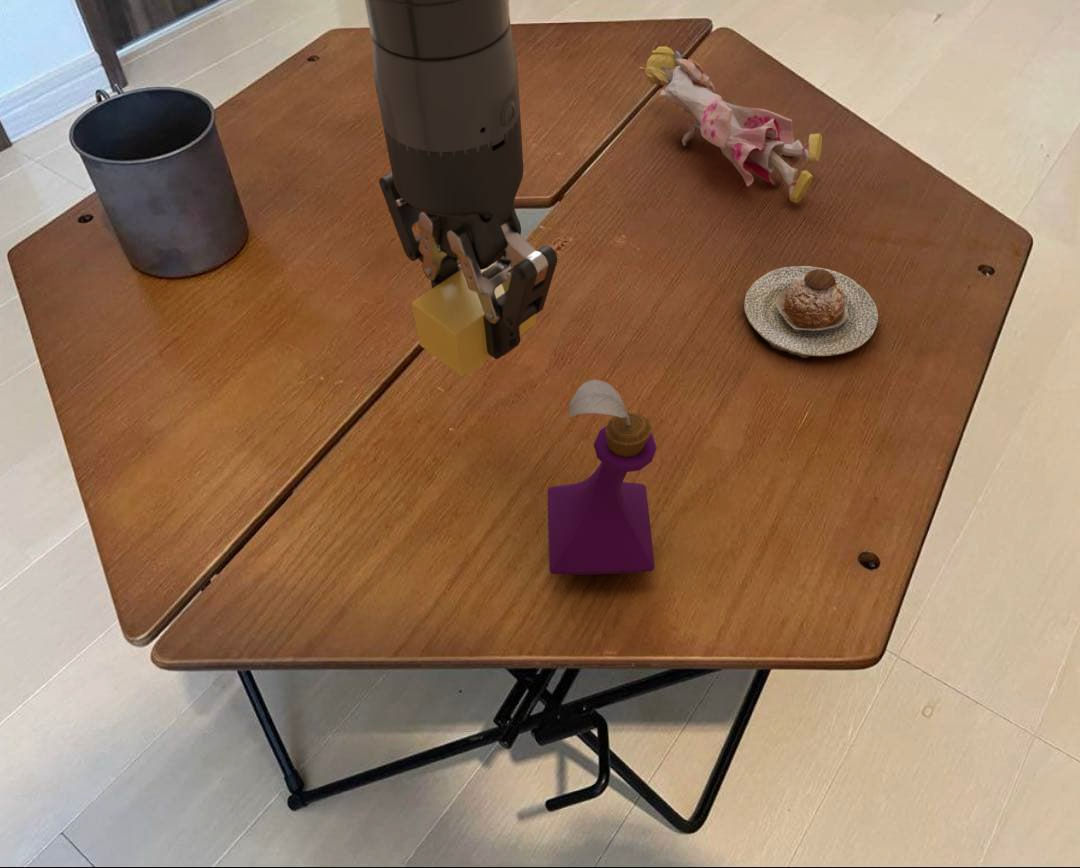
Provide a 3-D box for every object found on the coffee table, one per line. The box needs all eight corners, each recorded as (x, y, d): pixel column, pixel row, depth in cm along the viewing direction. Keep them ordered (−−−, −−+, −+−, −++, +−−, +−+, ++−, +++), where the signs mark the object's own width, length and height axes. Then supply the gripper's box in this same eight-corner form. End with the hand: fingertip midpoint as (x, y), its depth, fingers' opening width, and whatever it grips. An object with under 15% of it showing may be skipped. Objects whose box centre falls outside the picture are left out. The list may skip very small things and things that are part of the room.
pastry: (889, 362, 80) (904, 324, 76) (753, 366, 80) (762, 329, 77) (857, 272, 88) (869, 234, 84) (733, 276, 88) (740, 238, 84)
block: (462, 377, 60) (455, 334, 57) (419, 345, 62) (410, 302, 59) (536, 323, 63) (534, 279, 60) (493, 294, 65) (489, 250, 62)
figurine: (765, 245, 96) (620, 114, 107) (848, 181, 97) (697, 57, 107) (768, 175, 85) (607, 35, 96) (863, 104, 86) (693, -27, 96)
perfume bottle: (643, 508, 71) (659, 348, 57) (652, 592, 66) (672, 440, 52) (548, 511, 71) (541, 352, 57) (550, 595, 67) (543, 444, 53)
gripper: (315, 87, 51) (370, 311, 64) (489, 192, 44) (510, 417, 57) (418, 36, 54) (450, 260, 67) (594, 127, 47) (591, 355, 60)
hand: (478, 331), depth 62 cm, fingers closed on block, 4 cm apart
